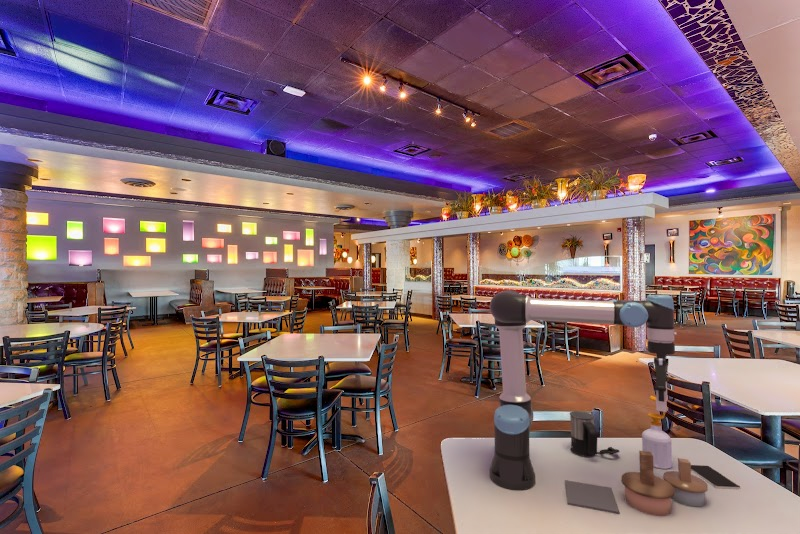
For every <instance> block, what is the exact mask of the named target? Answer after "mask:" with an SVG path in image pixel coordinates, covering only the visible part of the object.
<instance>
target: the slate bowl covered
mask: <svg viewBox="0 0 800 534" xmlns="http://www.w3.org/2000/svg"><path fill="white" fill-rule="evenodd" d="M691 465H692V463H691V461H689V459H686V458H681V457H680V458H677V470H678V471H677V470H668V471H665V472H663V474H662V477H663V478H662V479H664V480H665V481H667V482H669V483H670V484H671V485H672V486H673V488H674V496H673V497H671V501H672V500H673V501H674V502H677V503H678V504H682V505H684V506H689V507H696V508H698V507H699V508H701V507H704V506H706V504H707V503H706V492H707V491H708V483H707V482H706V481H705V480H704V479H702V478H701V477H699V476H696V475H693V474H692V471H691Z"/></svg>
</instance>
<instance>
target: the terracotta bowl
mask: <svg viewBox="0 0 800 534" xmlns="http://www.w3.org/2000/svg"><path fill="white" fill-rule="evenodd" d="M624 500H625V502H626V503H627V504H628V505H629V506H630V507H632V508H633V509H635V510H637V511H639V512H642V513H644V514H647V515H651V516H659V517H660V516H662V517H663V516H668V515H671V514H672V499H671V498H668V499H655V498H650V497H646V496H642V495H640V494H637V493H635V492H633V491H631V490H629V489H628V488H626V487H625V486H624Z"/></svg>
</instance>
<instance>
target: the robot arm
mask: <svg viewBox="0 0 800 534" xmlns="http://www.w3.org/2000/svg"><path fill="white" fill-rule="evenodd" d="M673 298H674V297H673V296H671V295H668V294H648V295H646V298H645V300H634V299H633V300H631V299H610V300H609V299H608V300H591V299H590V300H587V299H562V298H561V299H560V298H559V299H558V298H535V297H533V298H532V297H531V296H529V295H528V294H521V293H519V292H517V291H515V290H511V289H510V290H509V289H508V290H504V291H500V292H498V293H496V294H495V295H493V297H492V298H491V300H490V303H489V311H490V314H491V315H492V317H493V318H494V326H495V327H496V328H497V329H498V332H499V348H500V362H501V364H500V365H501V381H502V392H501V394H500V395H499V398H498V399H499V406H498V407H497V408H496V409H495V411H494V413H493V414H494V416H493V424H494V425H493V426H494V455H493V458H492V461H491V464H490V468H489V477H490V480H491V482H493V483H494V484H496V485H498V486H500V487H502V488H504V489H508V490H514V491H515V490H516V491H517V490H518V491H519V490H520V491H523V490H529V489H531V488H533V487H534V486H535V484H536V473H535V470H534V467H533V464H532V460H531V458H530V455H531V454H530V433H531V428H532V425H533V421H534V410H533V408H532V398H531V396H530V395H529V394H528V393H527V385H526V383H527V382H526V369H525V368H526V366H525V350H524V337H523V336H524V335H523V334H524V333H523V330H524V329H525V328H526V326H527V324H528V323H529V322H530V321H538V322H539V321H541V322H542V321H544V322H559V323H560V322H563V323H575V324H576V323H579V324H596V325H613V326H627V327H629V328H640V327H642V326H644V325H645V324H646V335H647V337H646V339H647V340H648V341H647V352H649V354H656V357H654V358H653V364H654V371H655V375H656V376H655V378H656V379H655V380H656V381H655V386H653V390H654V391H655V397H656V401H655V402H656V403H655V404H656V411H657V412H662V413H663V412H665V413H668V409H667V408H668V407H667V404H668V403H667V402H668V382H670V378H669V377H668V376H667V373H668V368H669V367H668V366H669V358H667V355H669V356H671V355H675V353H676V351H675V350H676V348H675V347H676V345H675V344H676V343H674V342H675V336H676V335H677V334H678V333H677V331H675V306H674V299H673Z"/></svg>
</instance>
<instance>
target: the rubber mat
mask: <svg viewBox="0 0 800 534" xmlns="http://www.w3.org/2000/svg"><path fill="white" fill-rule="evenodd" d="M564 483H565V484H564V485H565V492H566V494H565V495H566V499H567V500H566V502H567V505H568V506H573V507H574V506H575V507H578V508H580V507H581V508H584V509H590V510H595V511H601V512H605V513H611V514H617V515H620V509H619V506H618V503H617V501H616V497H615V494H614V491H613V488H612V487H609V486H604V485H603V486H602V485H599V484H598V485H597V484H591V483H584V482H580V481H572V480H568V479H567V480H566V479H565V480H564Z"/></svg>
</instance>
